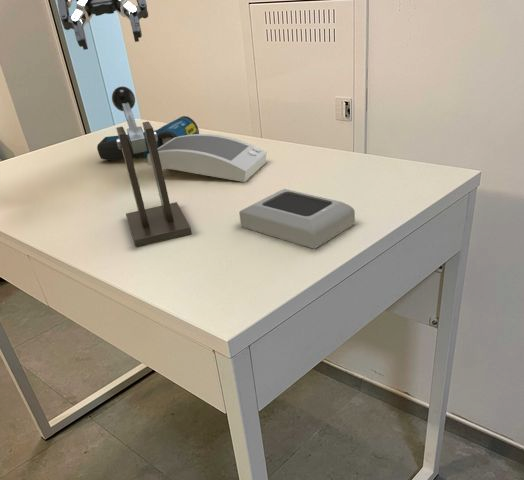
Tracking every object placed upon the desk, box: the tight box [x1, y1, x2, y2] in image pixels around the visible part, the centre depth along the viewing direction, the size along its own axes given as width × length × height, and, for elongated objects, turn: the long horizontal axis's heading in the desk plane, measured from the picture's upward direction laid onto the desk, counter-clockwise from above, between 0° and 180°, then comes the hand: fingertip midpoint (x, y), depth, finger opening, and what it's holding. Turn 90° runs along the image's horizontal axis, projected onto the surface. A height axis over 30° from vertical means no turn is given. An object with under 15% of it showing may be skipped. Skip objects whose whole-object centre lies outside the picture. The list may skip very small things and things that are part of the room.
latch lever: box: [111, 86, 147, 154], centre depth 85 cm, size 13×4×4 cm, turn 18°
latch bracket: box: [116, 120, 193, 248], centre depth 86 cm, size 12×9×16 cm
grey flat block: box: [238, 188, 356, 250], centre depth 84 cm, size 10×4×15 cm
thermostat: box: [147, 133, 267, 183], centre depth 109 cm, size 11×21×6 cm, turn 68°
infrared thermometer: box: [96, 115, 200, 161], centre depth 123 cm, size 6×13×20 cm
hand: (110, 42), depth 90 cm, fingers open, 8 cm apart
